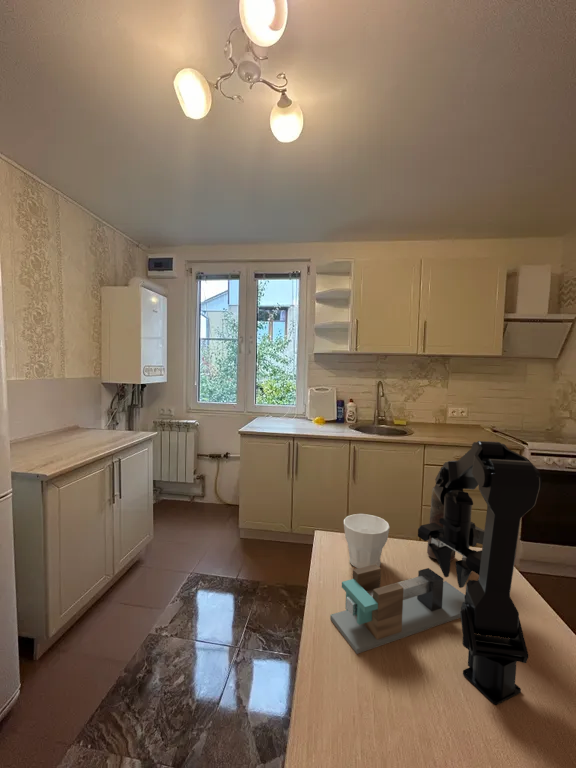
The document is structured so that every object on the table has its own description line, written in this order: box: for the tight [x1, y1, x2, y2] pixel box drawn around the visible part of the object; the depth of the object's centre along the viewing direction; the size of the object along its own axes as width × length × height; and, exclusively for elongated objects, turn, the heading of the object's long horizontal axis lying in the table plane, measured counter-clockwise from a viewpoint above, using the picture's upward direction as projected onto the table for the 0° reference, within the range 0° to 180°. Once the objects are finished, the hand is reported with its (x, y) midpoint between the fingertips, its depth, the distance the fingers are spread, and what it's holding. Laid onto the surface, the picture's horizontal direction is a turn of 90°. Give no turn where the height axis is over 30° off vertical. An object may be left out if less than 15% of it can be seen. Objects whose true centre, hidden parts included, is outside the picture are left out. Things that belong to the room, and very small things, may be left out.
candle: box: [426, 486, 457, 561], centre depth 102 cm, size 8×7×20 cm
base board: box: [329, 580, 466, 655], centre depth 79 cm, size 10×33×1 cm, turn 113°
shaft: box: [345, 567, 444, 616], centre depth 77 cm, size 4×23×7 cm, turn 113°
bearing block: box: [352, 564, 403, 640], centre depth 75 cm, size 9×6×10 cm, turn 23°
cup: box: [343, 513, 390, 569], centre depth 99 cm, size 12×12×11 cm
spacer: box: [341, 578, 378, 625], centre depth 73 cm, size 8×3×5 cm, turn 23°
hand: (453, 581), depth 84 cm, fingers open, 4 cm apart
